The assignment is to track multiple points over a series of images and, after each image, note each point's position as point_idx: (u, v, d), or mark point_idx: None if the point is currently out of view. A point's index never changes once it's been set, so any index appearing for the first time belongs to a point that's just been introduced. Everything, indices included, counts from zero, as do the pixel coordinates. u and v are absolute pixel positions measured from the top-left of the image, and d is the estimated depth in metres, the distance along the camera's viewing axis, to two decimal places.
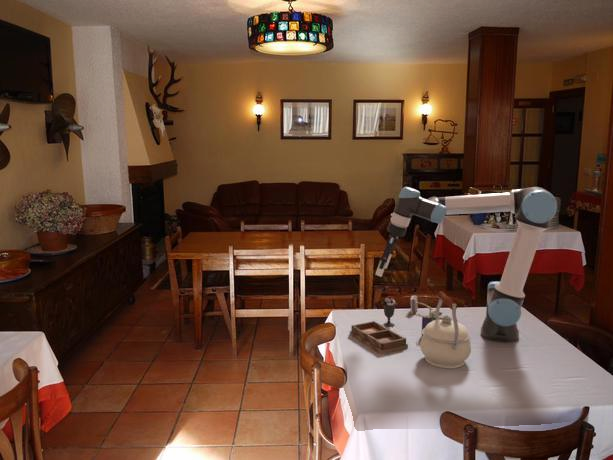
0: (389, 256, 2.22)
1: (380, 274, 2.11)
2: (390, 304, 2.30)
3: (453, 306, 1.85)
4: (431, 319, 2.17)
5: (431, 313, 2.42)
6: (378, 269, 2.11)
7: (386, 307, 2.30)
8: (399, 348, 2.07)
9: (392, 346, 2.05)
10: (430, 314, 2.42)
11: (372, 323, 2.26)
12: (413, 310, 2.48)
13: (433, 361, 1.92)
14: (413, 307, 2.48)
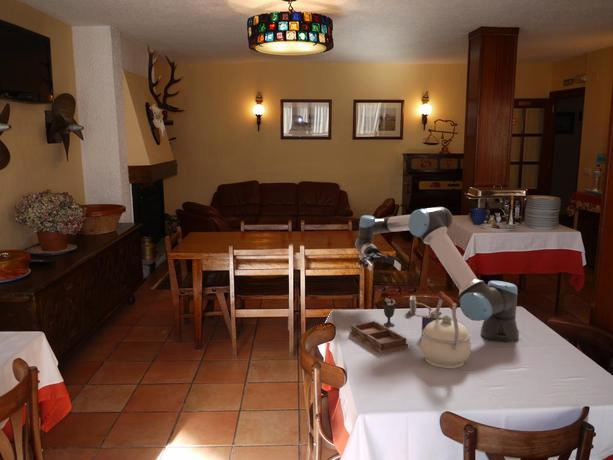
0: (394, 262, 2.41)
1: (370, 266, 2.34)
2: (390, 304, 2.30)
3: (453, 306, 1.85)
4: (431, 319, 2.17)
5: (431, 313, 2.42)
6: (368, 267, 2.36)
7: (386, 307, 2.30)
8: (399, 348, 2.07)
9: (392, 346, 2.05)
10: (430, 314, 2.42)
11: (372, 323, 2.26)
12: (412, 310, 2.47)
13: (433, 361, 1.92)
14: (412, 307, 2.47)
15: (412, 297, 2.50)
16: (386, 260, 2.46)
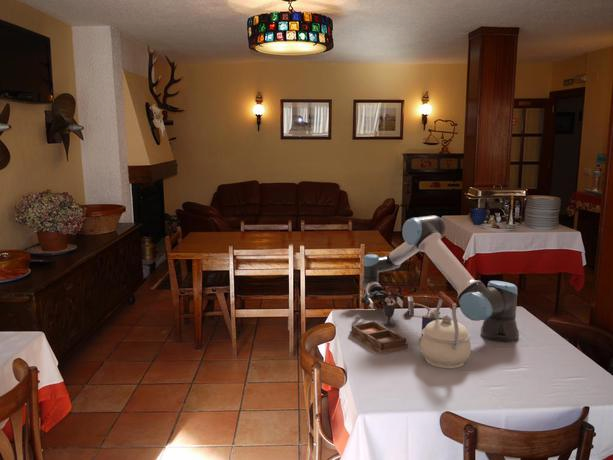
0: (397, 298, 2.40)
1: (371, 303, 2.34)
2: (390, 304, 2.30)
3: (453, 306, 1.85)
4: (431, 319, 2.17)
5: (431, 313, 2.42)
6: (370, 305, 2.36)
7: (386, 307, 2.30)
8: (399, 348, 2.07)
9: (392, 346, 2.05)
10: (430, 314, 2.41)
11: (372, 323, 2.26)
12: (411, 312, 2.46)
13: (433, 361, 1.92)
14: (411, 308, 2.45)
15: (410, 298, 2.49)
16: None
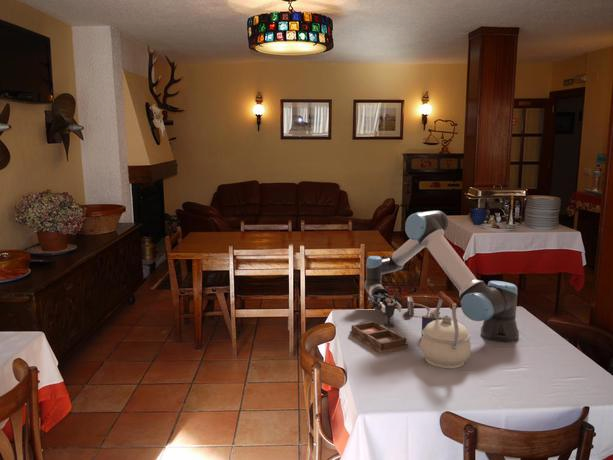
0: None
1: (383, 307, 2.28)
2: (390, 304, 2.30)
3: (453, 306, 1.85)
4: (431, 319, 2.17)
5: (431, 313, 2.42)
6: (382, 309, 2.30)
7: (386, 307, 2.30)
8: (399, 348, 2.07)
9: (392, 346, 2.05)
10: (430, 314, 2.41)
11: (372, 323, 2.26)
12: (411, 312, 2.45)
13: (433, 361, 1.92)
14: (411, 309, 2.45)
15: (409, 298, 2.49)
16: None
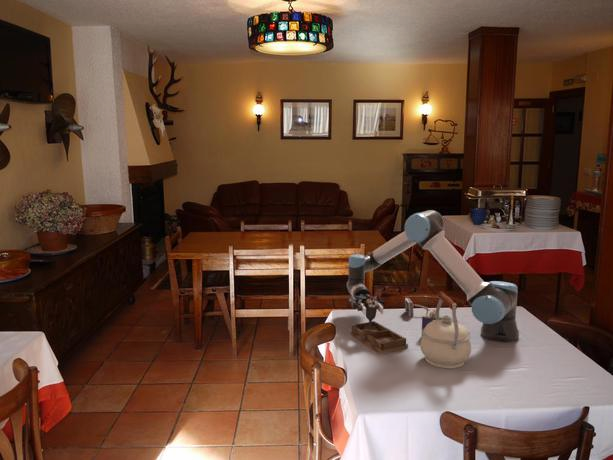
0: None
1: (363, 309, 2.14)
2: (372, 306, 2.16)
3: (453, 306, 1.85)
4: (431, 319, 2.17)
5: (431, 314, 2.41)
6: (362, 311, 2.16)
7: (367, 309, 2.16)
8: (399, 348, 2.07)
9: (392, 346, 2.05)
10: None
11: (372, 323, 2.26)
12: (411, 313, 2.44)
13: (433, 361, 1.92)
14: (411, 310, 2.44)
15: (408, 299, 2.47)
16: None
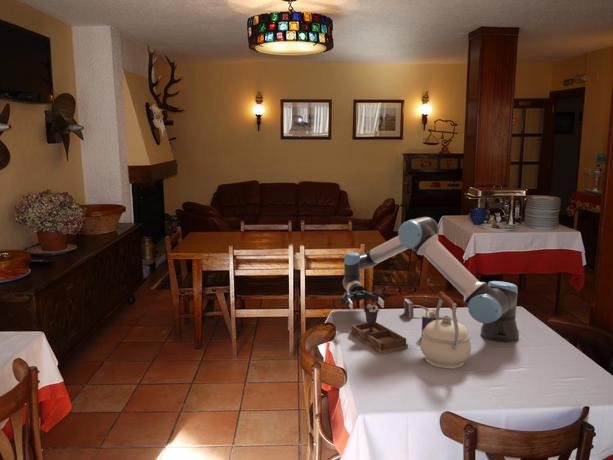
0: (378, 299, 2.29)
1: (350, 304, 2.23)
2: (372, 310, 2.16)
3: (453, 306, 1.85)
4: (431, 319, 2.17)
5: None
6: (349, 306, 2.25)
7: (368, 314, 2.17)
8: (399, 348, 2.07)
9: (392, 346, 2.05)
10: None
11: None
12: (411, 314, 2.43)
13: (433, 361, 1.92)
14: (411, 311, 2.43)
15: (407, 300, 2.46)
16: (370, 297, 2.34)
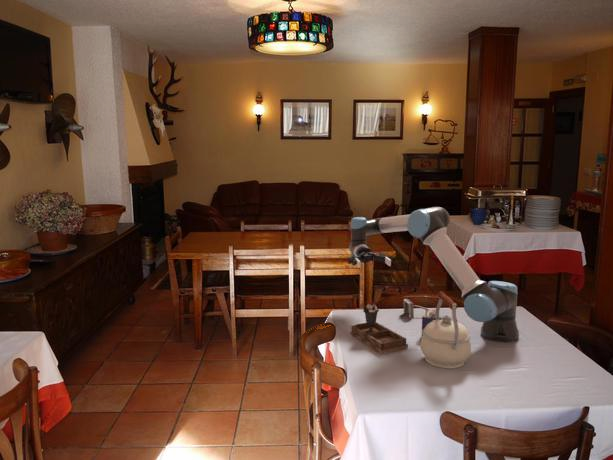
0: (385, 258, 2.33)
1: (358, 262, 2.26)
2: (372, 311, 2.16)
3: (453, 306, 1.85)
4: (431, 319, 2.17)
5: None
6: (357, 265, 2.28)
7: (368, 314, 2.17)
8: (399, 348, 2.07)
9: (392, 346, 2.05)
10: None
11: None
12: (412, 314, 2.43)
13: (433, 361, 1.92)
14: (412, 311, 2.42)
15: (407, 300, 2.46)
16: (377, 258, 2.37)
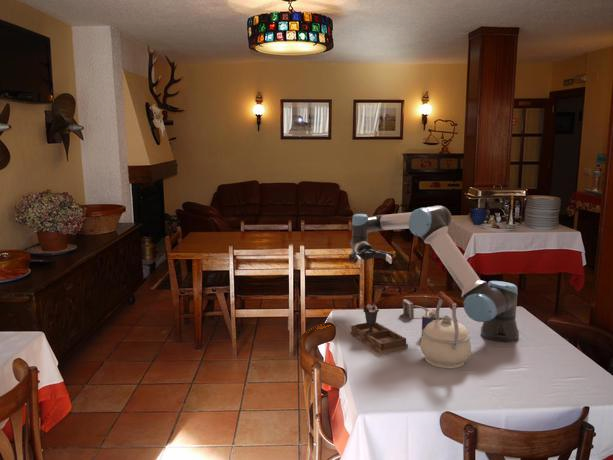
0: (386, 256, 2.32)
1: (359, 259, 2.26)
2: (372, 311, 2.16)
3: (453, 306, 1.85)
4: (431, 319, 2.17)
5: None
6: (358, 262, 2.28)
7: (368, 314, 2.17)
8: (399, 348, 2.07)
9: (392, 346, 2.05)
10: None
11: None
12: (412, 314, 2.42)
13: (433, 361, 1.92)
14: (412, 311, 2.42)
15: (407, 301, 2.45)
16: (378, 255, 2.37)
